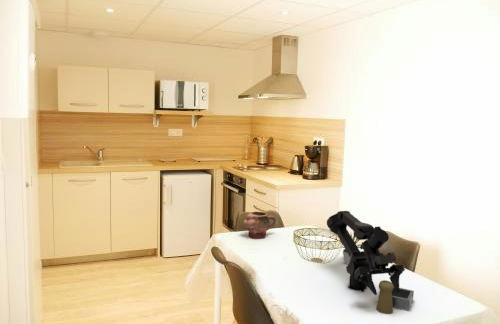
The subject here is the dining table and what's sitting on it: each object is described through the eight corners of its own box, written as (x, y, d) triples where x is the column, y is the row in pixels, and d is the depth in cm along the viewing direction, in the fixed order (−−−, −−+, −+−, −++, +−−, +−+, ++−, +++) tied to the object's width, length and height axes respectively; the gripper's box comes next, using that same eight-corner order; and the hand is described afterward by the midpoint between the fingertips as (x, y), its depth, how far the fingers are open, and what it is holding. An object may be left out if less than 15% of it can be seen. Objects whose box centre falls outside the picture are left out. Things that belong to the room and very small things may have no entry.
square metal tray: (381, 304, 158) (381, 294, 157) (386, 294, 166) (387, 285, 166) (409, 311, 153) (409, 300, 152) (413, 300, 161) (413, 290, 161)
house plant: (364, 259, 207) (366, 227, 205) (369, 269, 193) (371, 235, 191) (335, 257, 208) (337, 226, 206) (338, 267, 195) (340, 234, 193)
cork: (389, 306, 156) (391, 278, 155) (395, 314, 150) (397, 285, 149) (373, 306, 156) (375, 278, 155) (379, 314, 150) (381, 285, 149)
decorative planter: (269, 231, 251) (270, 209, 249) (279, 237, 240) (280, 214, 238) (239, 235, 242) (240, 212, 241) (248, 241, 231) (249, 217, 230)
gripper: (359, 246, 152) (373, 287, 143) (403, 243, 157) (420, 282, 147) (348, 259, 161) (361, 298, 151) (390, 256, 165) (405, 294, 156)
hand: (387, 293), depth 151 cm, fingers open, 9 cm apart
